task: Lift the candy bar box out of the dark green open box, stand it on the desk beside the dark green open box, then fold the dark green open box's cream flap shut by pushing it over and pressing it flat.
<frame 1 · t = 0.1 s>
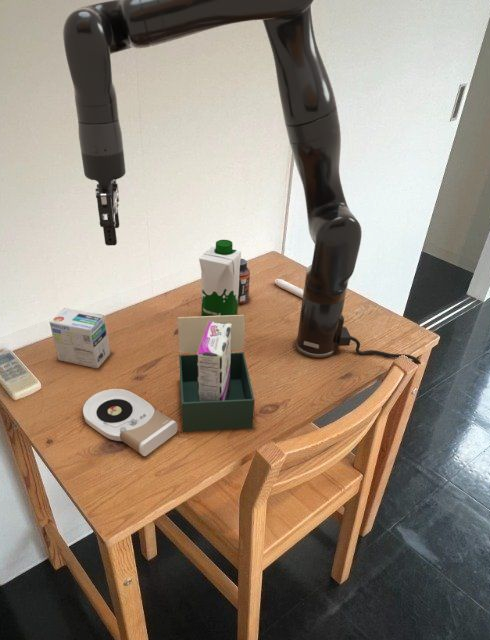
hand: (112, 235, 102), 29 cm above the table, tool pointing down, fingers open, 8 cm apart
marker: (297, 295, 143), on the table
candy bar box: (214, 403, 108), resting on dark green open box
record player: (126, 422, 104), on the table
milk carton: (219, 320, 133), on the table
dark green open box: (214, 404, 108), on the table
supplement bottle: (237, 300, 141), on the table
flap: (211, 333, 107), point 12 cm above the table, hinge at 100.0°
light bulb box: (84, 357, 121), on the table
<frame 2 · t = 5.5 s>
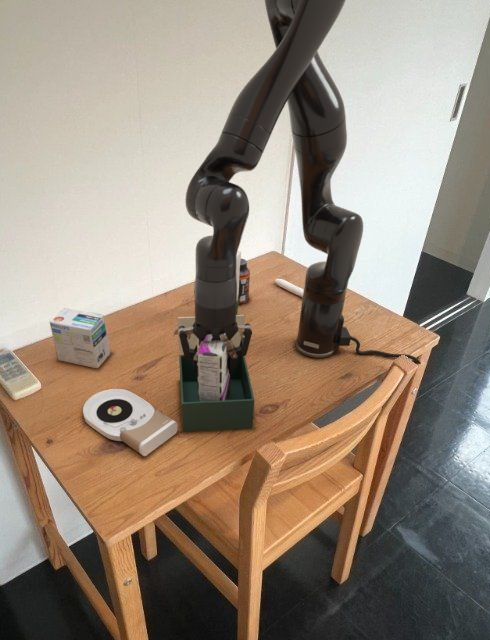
hand: (214, 371, 102), 9 cm above the table, tool pointing down, fingers closed on candy bar box, 5 cm apart
candy bar box: (214, 403, 108), resting on dark green open box, touching gripper
everything else where it was.
when the fingers open (8 cm above the table, at t = 13.0 s): candy bar box stays where it is, on the table.
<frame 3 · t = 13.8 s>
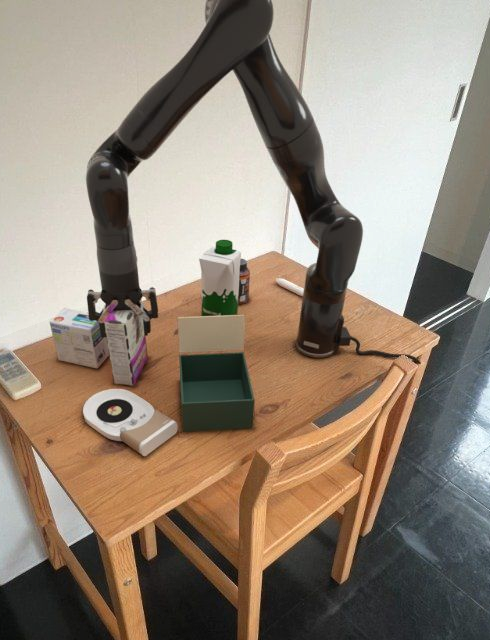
hand: (126, 334, 111), 10 cm above the table, tool pointing down, fingers open, 8 cm apart
candy bar box: (131, 371, 117), on the table
everything else where it was.
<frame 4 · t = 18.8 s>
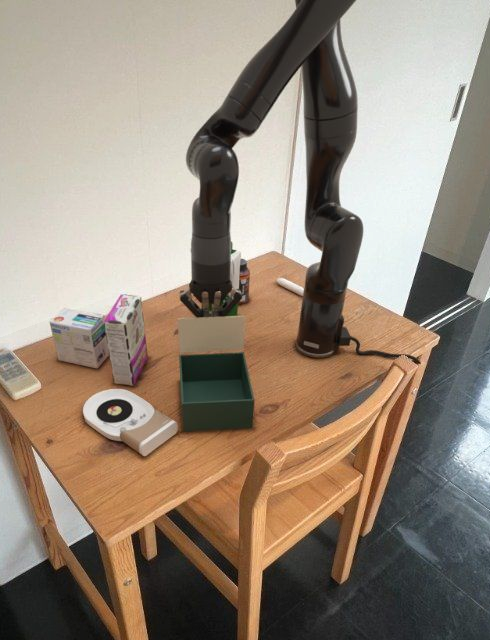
hand: (210, 332, 108), 11 cm above the table, tool pointing down, fingers closed
flap: (211, 334, 107), point 12 cm above the table, hinge at 96.5°, touching gripper, hand
everything else where it was.
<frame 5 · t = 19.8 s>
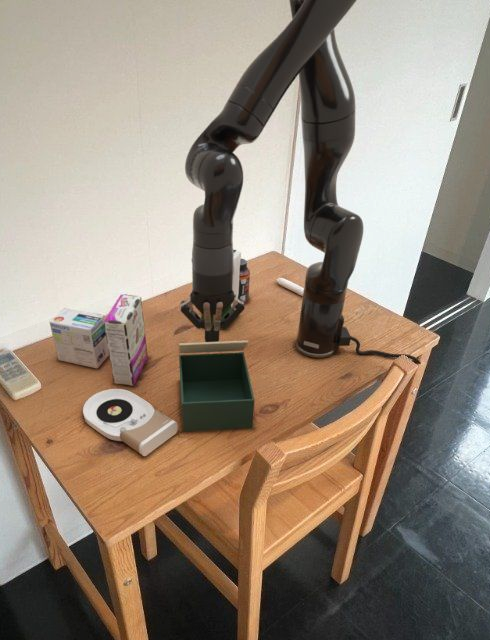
hand: (211, 343, 105), 11 cm above the table, tool pointing down, fingers closed
flap: (212, 347, 105), point 11 cm above the table, hinge at 47.0°
everything else where it was.
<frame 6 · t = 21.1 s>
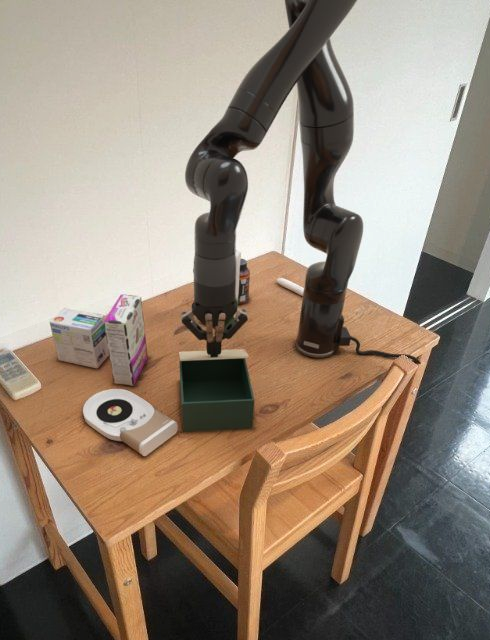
hand: (213, 354, 102), 11 cm above the table, tool pointing down, fingers closed
flap: (213, 354, 105), point 10 cm above the table, hinge at 24.4°, touching gripper
everything else where it was.
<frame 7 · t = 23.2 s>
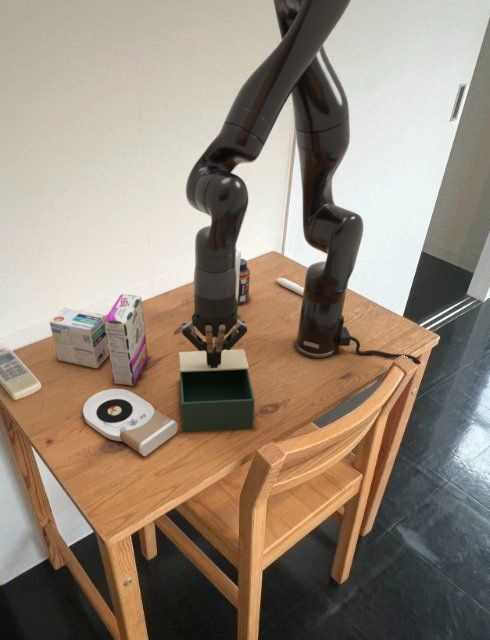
hand: (213, 365, 103), 9 cm above the table, tool pointing down, fingers closed
flap: (213, 360, 105), point 8 cm above the table, hinge at 6.8°, touching gripper
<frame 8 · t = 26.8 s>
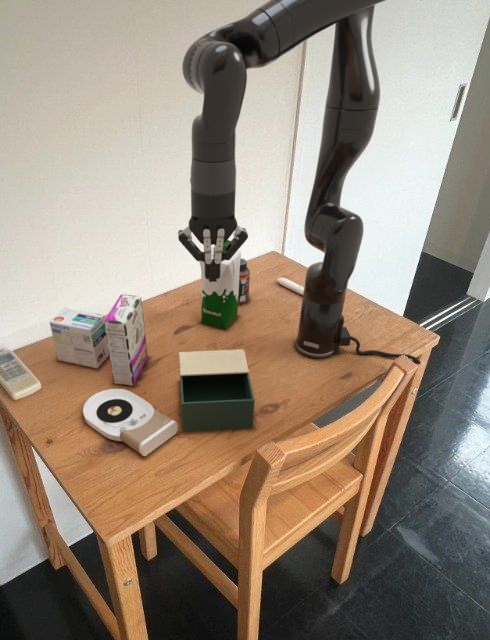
hand: (212, 279, 97), 25 cm above the table, tool pointing down, fingers closed
flap: (213, 362, 106), point 8 cm above the table, hinge at -0.6°
at the end: candy bar box inside the target area (0.1 cm from its centre), on the table; candy bar box tilted 0°; flap at -1° (first picture: +100°) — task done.
